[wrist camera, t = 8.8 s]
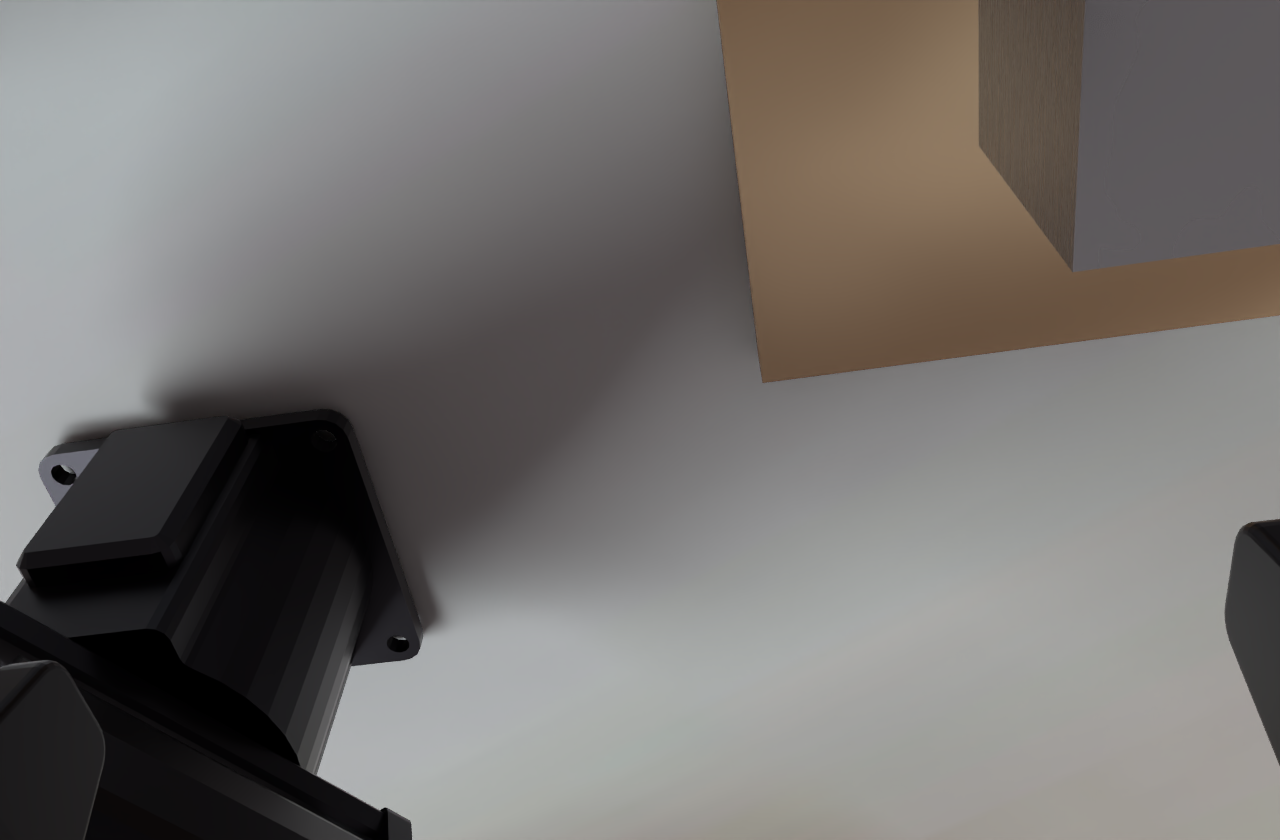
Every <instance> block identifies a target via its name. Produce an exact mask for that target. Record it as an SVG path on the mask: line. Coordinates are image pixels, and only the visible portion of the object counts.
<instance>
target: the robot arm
mask: <svg viewBox="0 0 1280 840" xmlns="http://www.w3.org/2000/svg"><path fill="white" fill-rule="evenodd" d="M319 430H324V431H328V432H330V433H332V434H333V435H334V437H335V438H336V440H333V441H329V440H325V439H323V438H321V437H320V436H319V435H318V433H317V432H316V431H319ZM61 465H66V466H68V467H70V468H72V470H73V471H74V472H75V473H76V474H71V473H69V472H67V471H65V470H64V469H63V468H62V467H61ZM39 474H40V477H41V479H42V481H43V483H44V485H45V487H46V489H47V491H48V493H49V494H50V496H51V498H52V500H53V502H54V504H55V506H56V507H55V509H54V510H53V511H52V513H51V514H50V515H49V517H48V518H47V519H46V521H45V522H44V523H43V525H42V526H41V527H40V529H39V530H38V531H37V533H36V534H35V536H34V537H33V538H32V540H31V541H30V542H29V544H28V545H27V546H26V548H25V549H24V550H23V552H22V554H21V556H20V558H19V559H18V562H17V564H16V566H17V568H18V570H19V571H20V573H21V575H22V577H23V579H22V581H21V582H20V583H19V585H18V586H17V588H16V589H15V590H14V592H13V593H12V594H11V596H10V597H9V599H8V600H7V601H6V603H4V602H2V601H0V840H412V829H411V822H410V820H408V819H406V818H404V817H402V816H401V815H399V814H397V813H395V812H393V811H392V810H390V809H388V808H383V809H381V810H378V809H376V808H374V807H373V806H371V805H369V804H367V803H365V802H364V801H362V800H360V799H358V798H356V797H355V796H353V795H351V794H349V793H347V792H346V791H344V790H342V789H340V788H338V787H336V786H335V785H333V784H331V783H329V782H327V781H326V780H324V779H322V778H320V777H318V776H317V772H318V769H319V766H320V762H321V759H322V756H323V753H324V750H325V747H326V744H327V740H328V737H329V734H330V731H331V728H332V725H333V721H334V718H335V715H336V712H337V709H338V706H339V702H340V699H341V696H342V693H343V690H344V687H345V683H346V680H347V677H348V674H349V671H350V668H351V666H357V665H366V664H375V663H384V662H393V661H402V660H407V659H410V658H412V657H414V656H415V655H416V654H418V651H419V649H420V647H421V643H422V639H423V629H422V626H421V623H420V620H419V617H418V614H417V611H416V609H415V606H414V603H413V600H412V597H411V594H410V591H409V588H408V585H407V583H406V580H405V577H404V574H403V571H402V568H401V565H400V562H399V559H398V557H397V554H396V551H395V548H394V545H393V542H392V539H391V536H390V533H389V531H388V528H387V525H386V522H385V519H384V516H383V513H382V510H381V508H380V505H379V502H378V499H377V496H376V493H375V490H374V487H373V484H372V482H371V479H370V476H369V473H368V470H367V467H366V464H365V461H364V458H363V456H362V453H361V450H360V447H359V444H358V441H357V438H356V435H355V432H354V430H353V427H352V425H351V423H350V422H349V420H348V419H347V418H346V417H345V416H343V415H342V414H341V413H339V412H336V411H333V410H327V409H320V410H312V411H305V412H297V413H290V414H282V415H275V416H267V417H260V418H252V419H245V420H239V419H236V418H232V417H229V416H220V417H213V418H205V419H198V420H190V421H183V422H175V423H168V424H160V425H153V426H146V427H138V428H131V429H123V430H117V431H114V432H112V433H111V434H110V435H109V437H108V438H103V439H95V440H88V441H80V442H73V443H65V444H60V445H57V446H55V447H53V448H52V449H51V450H50V451H49V453H48V454H47V455H46V456H45V457H44V459H43V460H42V461H41V462H40V465H39ZM1225 623H1226V630H1227V634H1228V638H1229V641H1230V644H1231V646H1232V649H1233V651H1234V654H1235V656H1236V659H1237V661H1238V664H1239V666H1240V669H1241V671H1242V674H1243V676H1244V679H1245V681H1246V683H1247V686H1248V688H1249V691H1250V693H1251V696H1252V698H1253V701H1254V703H1255V706H1256V708H1257V711H1258V713H1259V716H1260V718H1261V721H1262V723H1263V726H1264V728H1265V731H1266V733H1267V736H1268V738H1269V741H1270V743H1271V746H1272V748H1273V751H1274V753H1275V756H1276V758H1277V760H1278V763H1279V765H1280V519H1276V520H1267V521H1258V522H1251V523H1248V524H1246V525H1244V526H1243V527H1242V528H1241V529H1240V530H1239V532H1238V534H1237V536H1236V540H1235V544H1234V550H1233V557H1232V564H1231V570H1230V577H1229V583H1228V590H1227V597H1226V603H1225ZM393 636H402V637H404V638H406V640H398V639H396V638H394V637H393Z"/></svg>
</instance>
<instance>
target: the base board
mask: <svg viewBox="0 0 1280 840" xmlns="http://www.w3.org/2000/svg"><path fill="white" fill-rule="evenodd" d="M716 1H717V9H718V18H719V26H720V35H721V43H722V52H723V60H724V69H725V77H726V85H727V94H728V102H729V111H730V119H731V128H732V136H733V145H734V153H735V162H736V170H737V179H738V187H739V195H740V204H741V212H742V221H743V229H744V238H745V246H746V255H747V263H748V272H749V280H750V289H751V297H752V306H753V314H754V322H755V331H756V339H757V348H758V356H759V363H760V369H761V375H762V381H763V383H766V382H773V381H781V380H789V379H796V378H804V377H812V376H819V375H827V374H835V373H842V372H850V371H857V370H865V369H873V368H880V367H888V366H896V365H903V364H911V363H919V362H926V361H934V360H941V359H949V358H957V357H964V356H972V355H980V354H987V353H995V352H1003V351H1010V350H1018V349H1025V348H1033V347H1041V346H1048V345H1056V344H1064V343H1071V342H1079V341H1086V340H1094V339H1102V338H1109V337H1117V336H1125V335H1132V334H1140V333H1148V332H1155V331H1163V330H1170V329H1178V328H1186V327H1193V326H1201V325H1209V324H1216V323H1224V322H1232V321H1239V320H1247V319H1254V318H1262V317H1270V316H1277V315H1280V244H1276V245H1268V246H1261V247H1254V248H1247V249H1239V250H1232V251H1225V252H1217V253H1210V254H1203V255H1195V256H1188V257H1181V258H1173V259H1166V260H1159V261H1151V262H1144V263H1137V264H1129V265H1122V266H1115V267H1107V268H1100V269H1093V270H1085V271H1078V272H1072V271H1071V269H1070V268H1069V267H1068V265H1067V264H1066V263H1065V261H1064V260H1063V259H1062V257H1061V256H1060V255H1059V253H1058V252H1057V251H1056V249H1055V248H1054V247H1053V245H1052V244H1051V242H1050V241H1049V240H1048V238H1047V237H1046V236H1045V234H1044V233H1043V232H1042V230H1041V229H1040V228H1039V226H1038V225H1037V224H1036V222H1035V221H1034V220H1033V218H1032V217H1031V216H1030V214H1029V213H1028V212H1027V210H1026V209H1025V207H1024V206H1023V205H1022V203H1021V202H1020V201H1019V199H1018V198H1017V197H1016V195H1015V194H1014V193H1013V191H1012V190H1011V189H1010V187H1009V186H1008V185H1007V183H1006V182H1005V181H1004V179H1003V178H1002V176H1001V175H1000V174H999V172H998V171H997V170H996V168H995V167H994V166H993V164H992V163H991V162H990V160H989V159H988V158H987V156H986V155H985V154H984V152H983V151H982V150H981V148H980V147H979V26H978V0H716Z"/></svg>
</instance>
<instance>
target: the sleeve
mask: <svg viewBox="0 0 1280 840" xmlns="http://www.w3.org/2000/svg"><path fill="white" fill-rule="evenodd" d="M978 26H979V147H980V148H981V150H982V151H983V152H984V154H985V155H986V156H987V158H988V159H989V160H990V162H991V163H992V164H993V166H994V167H995V168H996V170H997V171H998V172H999V174H1000V175H1001V176H1002V178H1003V179H1004V181H1005V182H1006V183H1007V185H1008V186H1009V187H1010V189H1011V190H1012V191H1013V193H1014V194H1015V195H1016V197H1017V198H1018V199H1019V201H1020V202H1021V203H1022V205H1023V206H1024V207H1025V209H1026V210H1027V212H1028V213H1029V214H1030V216H1031V217H1032V218H1033V220H1034V221H1035V222H1036V224H1037V225H1038V226H1039V228H1040V229H1041V230H1042V232H1043V233H1044V234H1045V236H1046V237H1047V238H1048V240H1049V241H1050V242H1051V244H1052V245H1053V247H1054V248H1055V249H1056V251H1057V252H1058V253H1059V255H1060V256H1061V257H1062V259H1063V260H1064V261H1065V263H1066V264H1067V265H1068V267H1069V268H1070V269H1071V271H1072V272H1078V271H1085V270H1093V269H1100V268H1107V267H1115V266H1122V265H1129V264H1137V263H1144V262H1151V261H1159V260H1166V259H1173V258H1181V257H1188V256H1195V255H1203V254H1210V253H1217V252H1225V251H1232V250H1239V249H1247V248H1254V247H1261V246H1268V245H1276V244H1280V0H978Z"/></svg>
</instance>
